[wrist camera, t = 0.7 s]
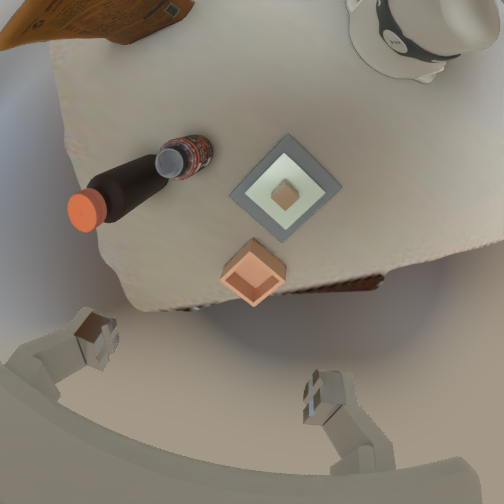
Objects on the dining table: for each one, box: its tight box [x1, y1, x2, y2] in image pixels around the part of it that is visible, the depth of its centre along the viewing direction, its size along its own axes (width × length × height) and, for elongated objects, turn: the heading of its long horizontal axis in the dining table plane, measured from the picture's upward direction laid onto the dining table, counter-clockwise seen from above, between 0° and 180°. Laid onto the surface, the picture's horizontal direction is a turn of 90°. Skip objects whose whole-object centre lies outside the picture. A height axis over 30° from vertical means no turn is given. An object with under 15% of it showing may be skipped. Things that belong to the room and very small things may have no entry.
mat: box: [229, 134, 342, 243], centre depth 43 cm, size 14×12×1 cm
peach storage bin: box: [219, 238, 286, 307], centre depth 49 cm, size 8×8×5 cm
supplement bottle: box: [155, 135, 212, 180], centre depth 37 cm, size 6×6×11 cm
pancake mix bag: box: [0, 0, 195, 51], centre depth 19 cm, size 7×19×28 cm, turn 104°
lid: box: [245, 152, 325, 230], centre depth 41 cm, size 9×9×4 cm
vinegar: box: [68, 155, 169, 232], centre depth 36 cm, size 7×7×20 cm
